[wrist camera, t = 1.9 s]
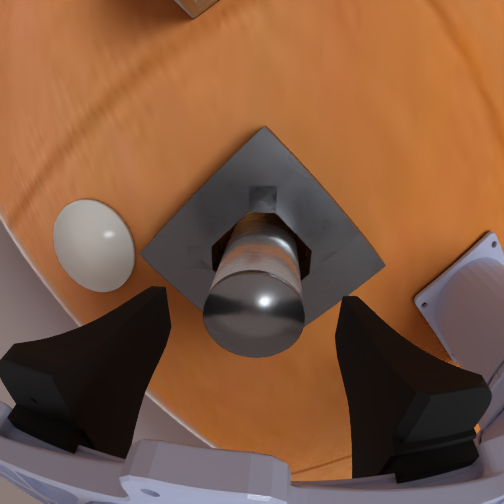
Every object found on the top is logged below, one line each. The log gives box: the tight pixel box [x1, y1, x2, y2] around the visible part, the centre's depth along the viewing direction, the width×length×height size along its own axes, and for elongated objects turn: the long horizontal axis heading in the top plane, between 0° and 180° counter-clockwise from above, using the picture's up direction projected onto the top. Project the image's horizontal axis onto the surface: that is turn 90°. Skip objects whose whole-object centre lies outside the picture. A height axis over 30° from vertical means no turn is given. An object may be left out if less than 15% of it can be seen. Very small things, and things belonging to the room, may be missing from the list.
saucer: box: [53, 199, 136, 292], centre depth 20 cm, size 7×7×1 cm
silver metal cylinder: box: [203, 212, 305, 358], centre depth 16 cm, size 4×4×8 cm
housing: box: [139, 126, 386, 327], centre depth 18 cm, size 10×10×2 cm
